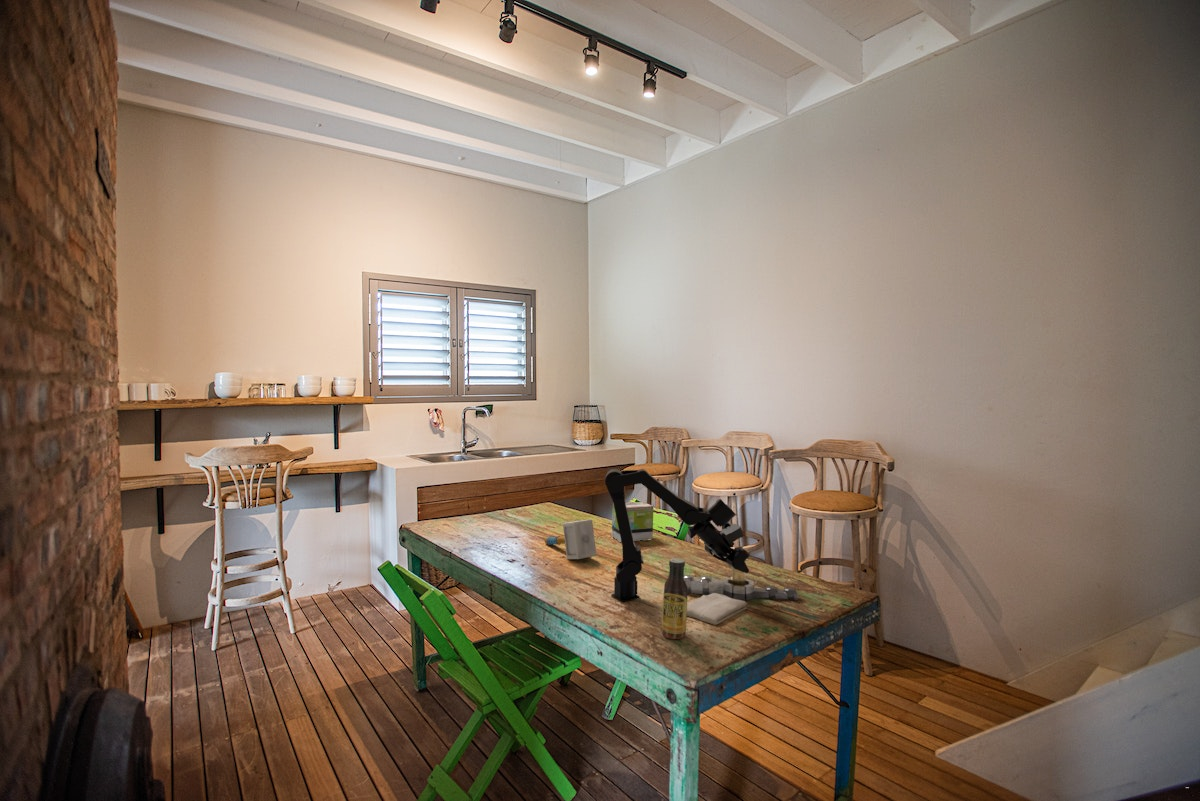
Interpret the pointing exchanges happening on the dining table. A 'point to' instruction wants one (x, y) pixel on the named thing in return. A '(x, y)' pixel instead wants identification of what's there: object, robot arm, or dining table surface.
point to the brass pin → (738, 577)
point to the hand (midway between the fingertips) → (742, 568)
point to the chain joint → (736, 589)
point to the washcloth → (714, 608)
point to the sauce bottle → (675, 601)
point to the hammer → (576, 539)
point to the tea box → (636, 521)
